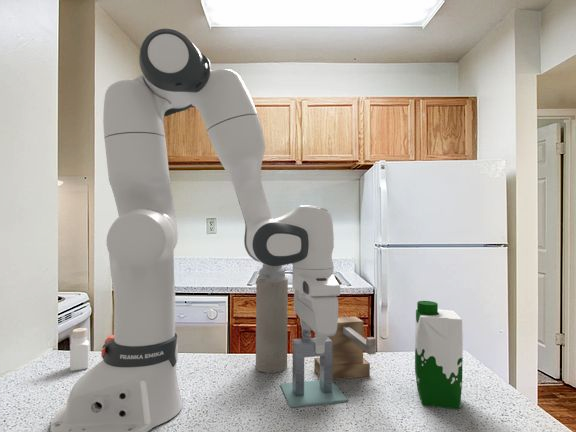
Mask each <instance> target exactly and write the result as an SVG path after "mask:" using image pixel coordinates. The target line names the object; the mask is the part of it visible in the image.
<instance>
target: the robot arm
mask: <svg viewBox="0 0 576 432" xmlns="http://www.w3.org/2000/svg"><path fill="white" fill-rule="evenodd" d="M138 55H139V56H138V57H139V61H138V62H139V67H140V70H141V72H142V74H140V75H139V76H138V77H136V78H133V79H124V80H118V81H116V82H114V83H112V84H110V85H109V86H108V87H107V89H106V91H105V94H104V100H103V114H102V115H103V120H102V126H103V139H104V148H105V158H106V165H107V173H108V175H107V176H108V183H109V185H110V187H111V190H112V194H113V198H114V202H115V205H116V210H117V214H118V217H116V219H115V220H114V222H113V223H112V224H111V226H110V228H109V230H108V233H107V235H106V247H107V251H108V255H109V256H108V258H109V270H110V277H111V283H112V290H113V298H114V302H113V303H114V312H113V314H114V315H113V316H114V319H113V320H114V323H113V325H114V328H113V329H114V330H113V334H110V335H108V337H107V338H106V339H105V340H104V344H103V345H102V349H100V351H101V353H100V355H101V357H102V360H101V361H100V362H98V363H97V364H96V365H95V366H93V367H92V368H91V369H90V370H88V372H86V373H85V374H83V375H82V376H81V377H80V378H78V380H77V381H76V382H75V384H74V385H73V386H72V388H71V390H70V392H69V395H68V399H67V401H66V404H64V405H63V406H62V407H61V408H60V409H59V410H58V412H57V413H56V414H55V415H54V417H53V418H52V421H51V423H50V430H49V432H149V431H151V430H153V428H155V427H157V426H159V425H161V424H164V423H167V422H168V421H169V420H171V419H173V418H174V417H176V416H177V415H178V414H179V413H180V411H181V410H182V408H183V405H184V403H183V399H182V396H181V392H180V387H179V381H178V374H177V365H176V364H177V361H178V354H179V352H178V350H179V349H178V348H179V346H178V345H179V344H178V343H179V341H178V335H177V333H176V288H175V287H176V286H175V263H174V262H175V260H174V256H175V255H174V252H175V248H176V247H177V244H178V240H179V237H178V236H179V234H178V233H179V232H178V225H177V219H176V210H175V205H174V196H173V190H172V185H171V184H172V183H171V178H170V177H171V176H170V169H169V161H168V160H169V159H168V151H167V150H168V148H167V141H166V132H165V131H166V130H165V123H164V122H165V117H168V116H170V115H173V114H176V113H181V112H184V111H186V110H188V109H189V110H190V109H191V108H192V107H194V108H195V109H197V111H198V112H199V114H200V116H201V117H202V120H203V123H204V126H205V129H206V132H207V135H208V138H209V140H210V143H211V145H212V148H213V150H214V152H215V155H216V156H217V159H219V162H220V164H221V166H222V167H223V169H224V171H225V172H226V174H227V176H228V178H229V179H230V181H231V183H232V186H233V188H234V191H235V194H236V197H237V199H238V200H237V201H238V203H239V206H240V207H239V208H240V210H241V213H242V216H243V220H244V225H245V229H244V230H245V231H244V242H243V243H244V248H245V251H246V253H247V254H248V256H249V257H250V258H251V259H253V260H254V261H255V262H257V263H261V264H262V265H263V264H264V265H267V266H271V267H278V266H282V267H283V266H287V265H292V289H293V290H294V295H293V310H294V311H293V312H294V313H295V314H296V315H297V316H298V317H299V321H300V327H301V337H302V338H312V332H313V333H314V334H315V335H314V338H316V341H315V343H314V351H315V352H316V353H317V354H323V353H324V351H325V342H326V340H327V336H334V335H335V333H336V331H337V324H338V317H339V299H338V297H339V296H341V290H342V289H341V285H340V283H339V282H338V281H337V279H336V275H335V273H334V271H335V270H334V268H335V267H334V262H333V257H332V256H333V250H334V245H335V244H334V243H335V242H334V240H335V237H334V236H335V235H334V224H333V218H332V215H331V213H330V211H328V210H327V208H323V207H320V206H318V205H317V206H316V205H309V204H300V205H296V207H294V209H292V210H291V211H288V212H286V213H285V214H282V215H281V216H278V217H276V218H274V217H273V215H272V213H271V210H270V207H269V203H268V201H267V196H266V193H265V190H264V186H263V182H262V175H261V173H262V165H263V159H264V156H265V151H266V145H265V137H264V131H263V130H264V129H263V126H262V123H261V121H260V120H261V119H260V117H259V114H258V112H257V109H256V106H255V104H254V101H253V98H252V97H251V95H250V92H249V89H248V88H247V87H246V85H245V83H244V81H243V80H242V78H241V76H240V75H239V74H238V73H237V72H236V71H235V70H232V69H227V68H219V69H214V70H213V69H212V67H211V61H210V60H209V58H208V57H206V56H205V55H204V54H203V52H201V51H200V50H199V48H197V46H196V45H195V44H194V43H193V41H191V40H190V39H189V38H188V37H187V36H186V35H185V34H183V33H181V32H180V31H178V30H175V29H172V28H159V29H157V30H154V31H152V32H150V33H149V34H148V35H147V36H146V37H145V38H144V40H143V42H142V43H141V46H140V50H139V54H138Z"/></svg>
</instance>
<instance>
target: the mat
mask: <svg viewBox="0 0 576 432" xmlns="http://www.w3.org/2000/svg"><path fill="white" fill-rule="evenodd" d="M279 386H280V389H281V390H282V392H283V394H284V397H285V399H286V401H287V404H288V406H289V408H292V409H293V408H302V407H311V406H319V405H320V406H321V405H327V404H336V403H346V402H348V399H347V397H346V396H345V394H343V392H342V391H341V390H340V389H339V387H338V386H337V384H336V383H335V382H334V381H333V380H332V393H325V394H324V393H323V391H322V390H321V388H320V379H317V380H314V379H313V380H306V381H305V380H304V396H295V394H294V392H293V390H292V382H288V383H287V382H286V383H285V382H284V383H280V384H279Z"/></svg>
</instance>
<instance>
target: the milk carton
mask: <svg viewBox="0 0 576 432" xmlns="http://www.w3.org/2000/svg"><path fill="white" fill-rule="evenodd" d="M416 306H417V307H416V308H415V321H414V323H415V324H414V325H415V326H414V327H415V329H414V373H415V381H416V387H417V392H418V395H419V398H420V402H421V405H422V406H427V407H438V408H445V409H455V410H461V402H462V390H463V389H462V388H463V351H464V350H463V345H464V344H463V343H464V342H463V336H464V335H463V318H462V317H461V316H459V315H458V314H457V313H456V311H454V310H453V309H452V310H451V309H450V310H449V309H441V308H438V307H439V305H438V302H436V301H430V300H420V301H417V303H416Z"/></svg>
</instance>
